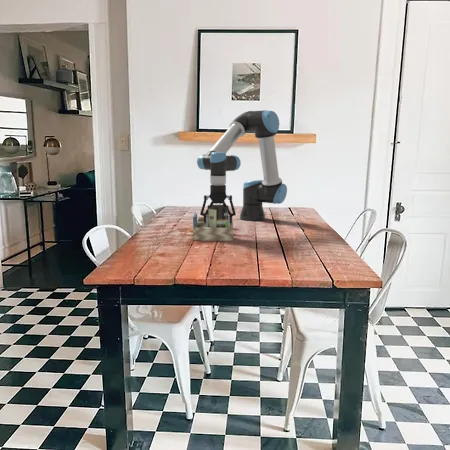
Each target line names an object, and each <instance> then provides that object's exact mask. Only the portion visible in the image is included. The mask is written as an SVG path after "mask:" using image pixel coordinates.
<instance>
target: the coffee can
mask: <svg viewBox="0 0 450 450" xmlns="http://www.w3.org/2000/svg"><path fill="white" fill-rule="evenodd" d="M209 205H210V204H209ZM209 205H207V207H206V208H207V209H208V214H207V216H208V228H228V216H229V214H228V208H229V205H227V204H226V205H227V206H226V207H224V205H223V204H213V205H212V207H210V206H209Z"/></svg>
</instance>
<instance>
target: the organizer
mask: <svg viewBox="0 0 450 450" xmlns="http://www.w3.org/2000/svg"><path fill="white" fill-rule="evenodd" d="M233 225H234V222H233V221H232V223H230V228H206V223H204V216H198V212H193V216H192V241H227V242H228V241H230V242H231V241H234V230H235V229H234V226H233Z"/></svg>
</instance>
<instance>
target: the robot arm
mask: <svg viewBox="0 0 450 450" xmlns="http://www.w3.org/2000/svg"><path fill="white" fill-rule="evenodd" d="M228 126H229V127H228V128H227V130H226V131H225V132H224V133H223V134H222V136H221V137H220V138H219V139H218V140H217V141H216V142H215V144H214V145H213V146H212V147H211V149H209V150H208V151H207V152H206V154H201V155H199V156H198V157H197V160H196V164H197V167H198V169H199V170H206V171H210V173H209V174H210V176H209V180H210V187H209V189H210V190H209V191H210V193H209V195H207V194H205V195H204V194H203V195H204V196H203V204H202V207H201V209H200V214H199V216H201V217H204V223H206V228H208V208H207V209H206V210H205V208H206V204H207V202H208V200H209V199H210V200H211V201H210V203H209V206H210V207H212V205H224V207H226V206H227V204H226V201H225V200H228V201H229V204H230V207H231V210H230V209H229V207H228V228H230V223H232V222H233V217H234V216H236V210H235V206H234V203H233V195H227V191H226V190H227V185H226V184H227V172H234V171H237V170H239V169H240V167H241V164H242V163H241V159H240V157H238V156H237V155H234V154H233V155H232V154H231V155H227V153H228V152H229V150H231V149H232V147H233V146H234V144H235V143H236V142H237V141H238V140H239V139H240V138H241V137H244V136H245V134H247V133H254V137H255V139H257V140H258V145H259V151H260V152H259V153H260V162H261V167H262V175H263V180H262V179H257V180H247V181H244V183H243V185H242V191H243V192H242V193H243V194H242V209H241V211H240V213H239V219H240V220H244V221H253V222H254V221H255V222H256V221H257V222H258V221H263V220H266V214H265V211H264V208H263V203H264V204H265V203H266V204H267V203H268V204H273V205H275V204H277V205H278V204H283V203H284V201H285V200H286V197H287V193H288V188H287V184H284V183H283V179H282V178H281V177H280V176H279V168H278V167H279V166H278V160H277V159H278V158H277V152H276V144H275V143H276V142H275V136H276V135H277V132H278V131H279V130H280V119H279V116H278V114H277V113H276V112H275V111H273V110H266V109H264V110H249V111H245V112H243V113H241V114H240V115H238V116H237V117H236V118H234V120H232V121H231V123H230V124H229V125H228ZM204 211H205V212H204ZM231 211H232V212H231Z"/></svg>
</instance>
